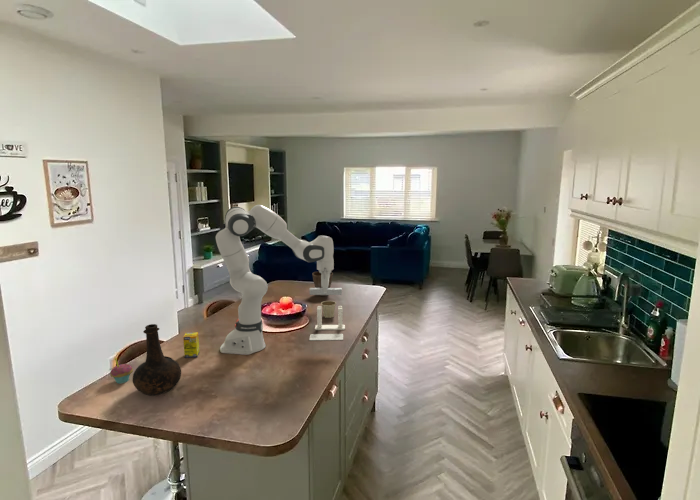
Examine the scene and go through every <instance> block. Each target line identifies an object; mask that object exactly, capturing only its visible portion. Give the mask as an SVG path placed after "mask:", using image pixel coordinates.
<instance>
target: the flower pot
mask: <svg viewBox="0 0 700 500" xmlns="http://www.w3.org/2000/svg"><path fill="white" fill-rule="evenodd" d="M336 305H337V302H336V301H334V300H325V301H321V303H320V306H322V312H323V318H325V319H328V318H329V319H331V318H334V317H335V309H336Z"/></svg>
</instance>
